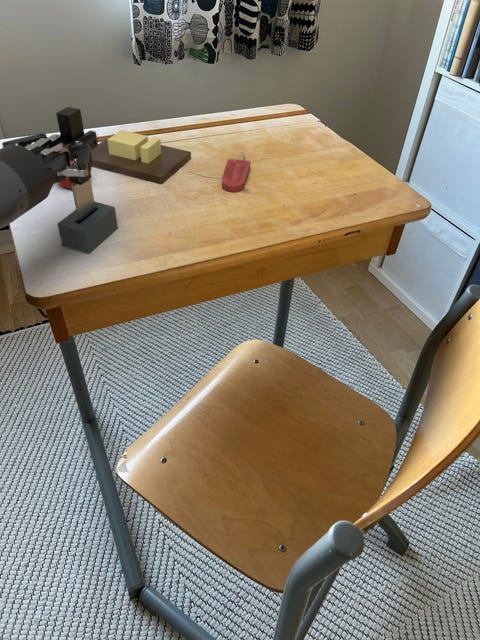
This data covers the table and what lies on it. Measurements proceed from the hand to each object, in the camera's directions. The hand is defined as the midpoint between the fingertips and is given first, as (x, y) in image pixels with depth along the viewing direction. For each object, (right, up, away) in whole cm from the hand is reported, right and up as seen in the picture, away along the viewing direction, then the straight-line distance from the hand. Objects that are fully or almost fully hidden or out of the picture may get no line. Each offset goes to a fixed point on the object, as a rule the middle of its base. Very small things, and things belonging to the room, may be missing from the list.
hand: (86, 135), depth 73 cm
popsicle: (+21, +2, +26) cm, 34 cm away
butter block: (0, +7, +28) cm, 28 cm away
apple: (-9, -2, +20) cm, 22 cm away
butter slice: (+5, +5, +26) cm, 27 cm away
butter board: (+1, +5, +28) cm, 29 cm away
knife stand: (-2, -13, +8) cm, 16 cm away
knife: (-2, -10, +6) cm, 12 cm away
